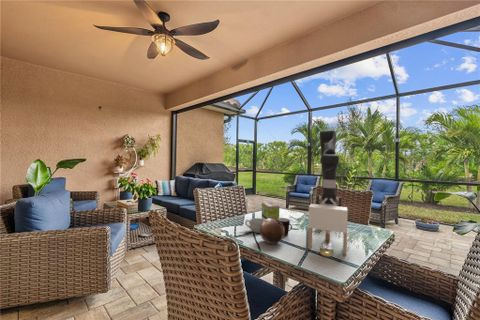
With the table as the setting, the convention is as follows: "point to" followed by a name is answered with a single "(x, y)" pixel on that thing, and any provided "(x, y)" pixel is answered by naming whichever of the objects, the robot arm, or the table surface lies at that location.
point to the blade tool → (327, 242)
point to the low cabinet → (328, 221)
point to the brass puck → (326, 253)
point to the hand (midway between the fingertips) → (328, 212)
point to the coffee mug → (285, 225)
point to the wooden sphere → (272, 230)
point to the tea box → (270, 210)
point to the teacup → (255, 224)
